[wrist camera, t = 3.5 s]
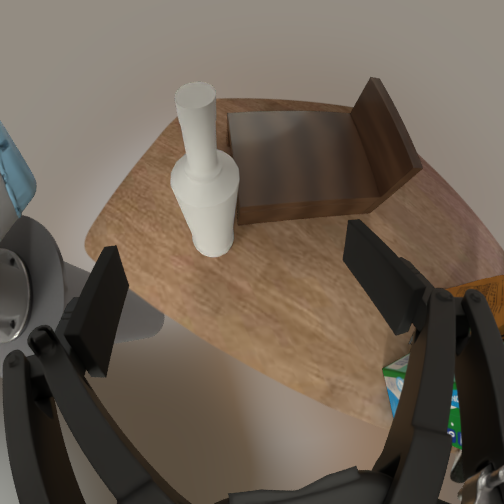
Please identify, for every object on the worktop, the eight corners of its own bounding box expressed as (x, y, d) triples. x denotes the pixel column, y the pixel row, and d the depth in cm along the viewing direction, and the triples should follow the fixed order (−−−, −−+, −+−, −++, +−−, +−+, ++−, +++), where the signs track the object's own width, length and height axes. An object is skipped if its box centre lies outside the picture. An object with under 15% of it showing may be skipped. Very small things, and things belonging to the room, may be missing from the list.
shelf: (237, 225, 37) (244, 171, 23) (226, 138, 40) (228, 68, 27) (370, 213, 39) (423, 168, 26) (345, 135, 42) (379, 78, 29)
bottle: (186, 246, 36) (122, 113, 11) (207, 213, 37) (185, 55, 13) (220, 266, 35) (210, 151, 11) (241, 232, 37) (266, 83, 13)
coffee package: (458, 369, 34) (563, 374, 13) (418, 333, 35) (540, 325, 14) (479, 320, 37) (576, 304, 15) (442, 280, 38) (551, 244, 17)
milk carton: (436, 391, 33) (564, 410, 9) (393, 419, 32) (523, 471, 8) (427, 342, 35) (567, 335, 11) (381, 368, 34) (533, 393, 10)
